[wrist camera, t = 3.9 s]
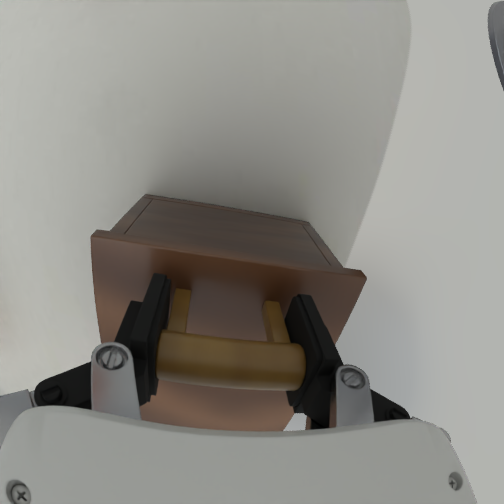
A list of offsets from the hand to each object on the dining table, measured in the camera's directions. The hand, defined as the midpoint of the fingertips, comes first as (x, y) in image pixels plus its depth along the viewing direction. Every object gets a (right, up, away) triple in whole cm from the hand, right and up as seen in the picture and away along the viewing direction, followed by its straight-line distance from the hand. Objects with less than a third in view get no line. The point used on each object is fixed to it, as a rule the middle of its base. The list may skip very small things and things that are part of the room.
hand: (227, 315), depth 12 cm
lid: (-1, -5, +4) cm, 6 cm away
